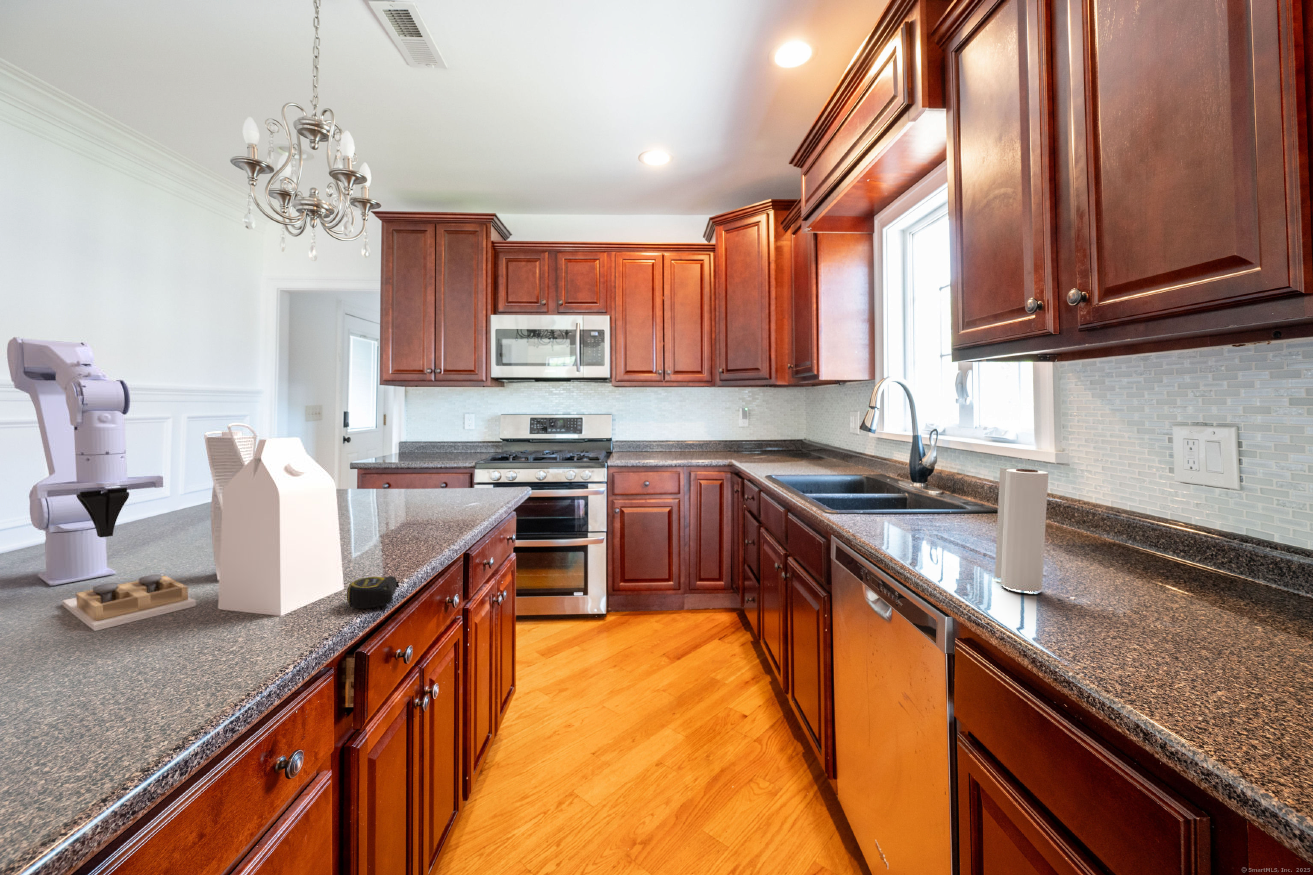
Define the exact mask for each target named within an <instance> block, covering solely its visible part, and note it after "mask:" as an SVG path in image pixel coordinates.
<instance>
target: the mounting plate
mask: <svg viewBox="0 0 1313 875" xmlns="http://www.w3.org/2000/svg"><path fill="white" fill-rule="evenodd" d="M161 576H162V574H150V575H144V576H141V577H139V578H138V581H139V583H140V584H145V587H147V593H151V592H156V582H157V581H160V580H161ZM118 585H119V584H118V583H115V582H113V583H112V582H111V583H104V584H100V585H99V584H98V585H96V586H93V587H92V590H93V593H100V597H101V603H106V602H110V601H112V591H113V590H116V589H118ZM61 603H62V606H63V607H64V608H65V609H67V611H68V612H70V613H72V615H74V616H75V617H76V618H77V619H79V620H80V621H81V622H83V623H84V624H85V625H87V626H88V627H89V628H90V629H91V630H93V631H94V632H97V631H100V630H104V629H109V628H112V627H116V626H117V627H118V626H120V625H125V624H128V623H133V622H137V621H141V620H144V619H145V620H146V619H149V618H152V617H157V616H162V615H165V614H169V613H173V612H178V611H180V610H185V609H189V608H194V607H197V600H195V599H193V598H191V597H190V596H188V599H187V600H183V601H179V602H175V603H170V604H166V605H162V606H158V607H153V608H149V609H145V610H141V611H137V612H132V613H128V614H124V615H120V616H115V617H111V618H107V619H103V620H98V621H96V620H94V619H93V618H92V617H90V616H89V615H88V614H86V613H85V612H84V611H83V610H81V609H80V608H79V607H77V600H76V597H72V598H68V599H63V600H62V602H61Z"/></svg>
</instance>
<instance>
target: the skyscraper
mask: <svg viewBox="0 0 1313 875" xmlns="http://www.w3.org/2000/svg"><path fill="white" fill-rule="evenodd" d="M231 427H243V428H247V429H248V430H249V431H251V433H252V434H253V435H243V434H242V431H241V430H232V428H231ZM227 429H228V430H225V431H224V430H223V431H222V430H221V431H220V430H219V431H208V432H205V433H204V434H203V435H204V442H205V443H204V444H205V448H206V454H207V460H208V465H209V470H210V474H211V478H212V481H213V482H212V483H213V487H212V493H211V504H210V505H211V506H210V525H211V526H210V528H211V541H212V550H213V559H214V565H215V573H216V580H217V583H219V577H220V553H221V529H222V505H223V492H224V489H225V486H226V485H227V484H228V482H229V481H230V480H231V479H232V478H233V477H234V476H235V475H236V474H237V473H238V472H239V471H240V470H241V469H242V468H243V467H244V466H245V465H246V464H247V463H248V462H250V461H251V460H252V459H253V458H254V454H255V451H256V448H257V437H258V436H257V433H256V431H255V430H254V429H253V428H252V427H251V426H249V425H248V424H246V423H240V422H233V423H229V424H227ZM209 435H211V436H209ZM212 435H215V436H212Z"/></svg>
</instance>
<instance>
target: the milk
mask: <svg viewBox="0 0 1313 875" xmlns="http://www.w3.org/2000/svg"><path fill="white" fill-rule="evenodd" d="M338 510H339V508H338V498H337V487H336V483H335V481H334V479H333V478H332V477H331V475H330V474H329V473H328V472H327V470H325V469H324V468H323V467H321V465H320V464H318V463H317V462H316V461H315V460H314V459H313V458H312V457H311V456H309V454H307V452H306V449H305V447H304V444H303V443H302V441H301V438H300V437H296V436H295V437H279V438H277V437H276V438H261V439H260V438H259V440H258V442H257V444H256V447H255V454H254V458H253V459H252V460H251V461H250V462H248V463H247V464H246V465H245V466H244V467H243V468H242V469H241V470H240V471H239V472H238V473H237V474H236V475H235V476H234V477H233V478H232V479H231V480H230V481H229V482H228V484H227V485H226V486H225V489H224V492H223V505H222V529H221V553H220V577H219V582H218V583H219V584H218V605H217V609H218V610H225V611H233V612H243V613H252V614H259V615H260V614H263V615H270V616H284V615H287V614H289V613H291V612H293V611H296V610H299V609H300V608H302V607H303V608H304V607H305V606H308V605H310V604H311V603H314V602H317V601H319V600H321V599H323V598H326V597H329V596H331V595H333V594H335V593H337V592H340V591H342V590H345V587H344V586H345V585H344V575H343V571H344V570H343V558H342V547H341V546H342V545H341V537H340V535H341V533H340V523H339V522H340V521H339V511H338Z"/></svg>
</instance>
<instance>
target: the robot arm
mask: <svg viewBox="0 0 1313 875" xmlns="http://www.w3.org/2000/svg"><path fill="white" fill-rule="evenodd" d="M6 355H7V356H6V357H7V365H8V370H9V375H10V379H11V382H12V383H13V386H14V389H17V390H19V391H22V392H24V393H27V394H28V395H29V398H30V400H31V402H32V404H33V407H34V410H35V413H36V418H37V423H38V429H39V432H40V434H39V435H40V438H41V443H42V447H43V451H44V455H45V462H46V466H47V471H48V476H47V477H45V478H43V479H42V480H40V481H38V482H37V483H35V484H34V485H33V486H32V488H31V490H30V491H29V495H28V498H29V518H30V521H31V525H32V526H33V527H34V528H36V529H37V530H39V531H43V532H45V540H44V551H45V569H46V570H45V572H41V573H38V574H37V575H38V576H37V577H38V578H40V579H41V580H43V581H44V582H45V583H46V584H48V585H49V586H52V587H53V586H56V585H57V586H58V585H62V584H63V585H64V584H68V583H73V582H74V583H75V582H79V581H84V580H90V579H95V578H100V577H106V576H111V575H115V574H116V572H117V571H115V569H112V568H111V567H109V566H108V555H107V538H109V537H113V535H114V530H115V527H116V526H115V525H116V523H117V520H118V517H119V515H120V512H122V509H123V508H124V505H125V504H126V503H127V501H128V499H129V497H130V492H129V491H130V490H140V489H153V488H156V489H158V488H159V489H160V488H164V476H163V475H151V476H149V475H148V476H147V475H145V476H129V477H128V474H127V472H128V471H127V470H128V468H127V453H126V452H127V448H126V447H127V446H126V427H125V426H126V425H125V415H126V416H127V415H128V413H129V411H130V407H131V393H130V389H129V386H128V384H127V383H126V381H125V380H124V379H116V380H111V379H110V378H109V376H107V374H106V373H104V371H103V370H102V369H101V368H100V367H98V366H97V365H96V364H95V354H94V351H93V349H92V347H91V345H90V344H88V343H87V342H83V341H82V342H73V341H72V342H71V341H70V342H69V341H56V340H45V339H44V340H43V339H32V338H31V339H29V338H21V337H19V336H18V337H17V336H16V337H15V336H14V337H13V338H11V339H10V340H8V342H7V347H6Z"/></svg>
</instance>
